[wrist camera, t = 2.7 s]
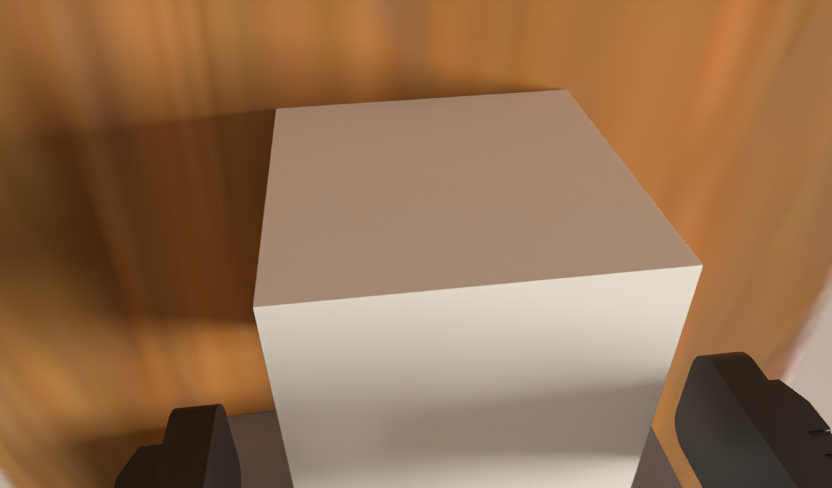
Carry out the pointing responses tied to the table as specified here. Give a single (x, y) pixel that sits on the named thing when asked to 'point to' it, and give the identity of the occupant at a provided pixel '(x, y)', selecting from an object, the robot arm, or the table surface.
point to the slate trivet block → (272, 481)
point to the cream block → (464, 295)
